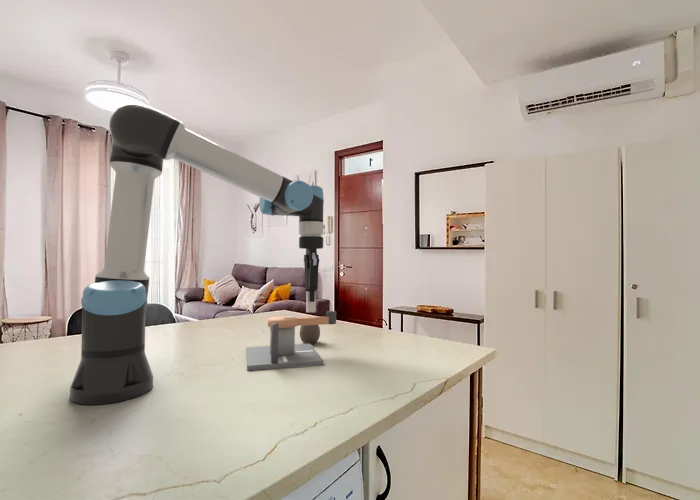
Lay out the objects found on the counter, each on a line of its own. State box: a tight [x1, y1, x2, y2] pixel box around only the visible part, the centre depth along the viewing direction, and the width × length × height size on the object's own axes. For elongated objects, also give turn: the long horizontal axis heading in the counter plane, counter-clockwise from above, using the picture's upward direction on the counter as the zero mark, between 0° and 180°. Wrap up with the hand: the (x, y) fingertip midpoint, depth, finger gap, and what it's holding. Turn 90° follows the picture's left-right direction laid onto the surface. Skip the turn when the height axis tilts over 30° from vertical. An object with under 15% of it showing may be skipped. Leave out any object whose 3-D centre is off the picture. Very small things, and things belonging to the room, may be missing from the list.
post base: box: [245, 323, 324, 371], centre depth 109 cm, size 20×20×12 cm
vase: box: [299, 325, 321, 345], centre depth 128 cm, size 7×7×9 cm
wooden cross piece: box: [267, 310, 337, 328], centre depth 111 cm, size 20×8×4 cm, turn 106°
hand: (311, 311), depth 117 cm, fingers closed
